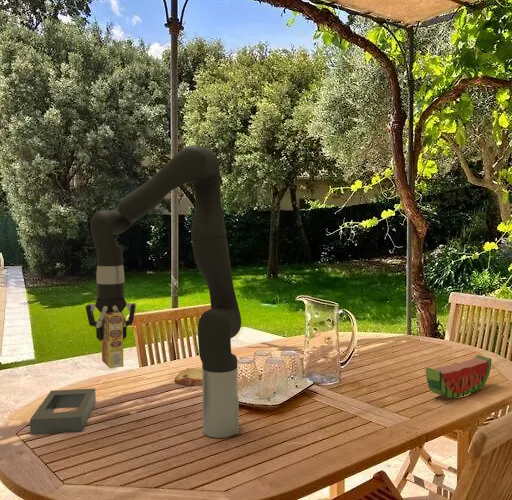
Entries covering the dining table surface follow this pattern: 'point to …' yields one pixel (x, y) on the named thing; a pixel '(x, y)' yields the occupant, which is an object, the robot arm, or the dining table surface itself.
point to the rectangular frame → (63, 421)
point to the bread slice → (190, 377)
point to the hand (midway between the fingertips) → (111, 339)
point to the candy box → (112, 339)
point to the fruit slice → (459, 377)
